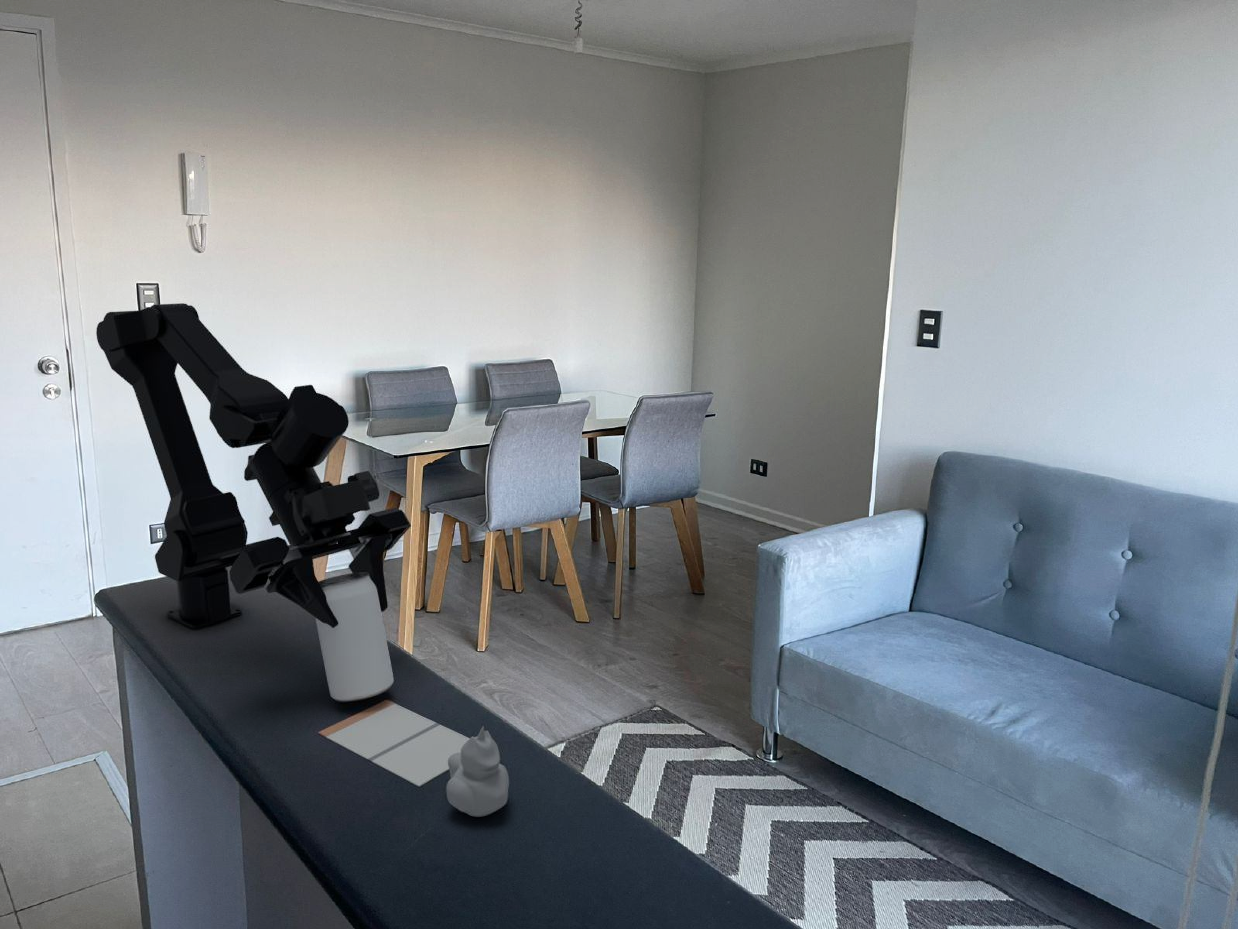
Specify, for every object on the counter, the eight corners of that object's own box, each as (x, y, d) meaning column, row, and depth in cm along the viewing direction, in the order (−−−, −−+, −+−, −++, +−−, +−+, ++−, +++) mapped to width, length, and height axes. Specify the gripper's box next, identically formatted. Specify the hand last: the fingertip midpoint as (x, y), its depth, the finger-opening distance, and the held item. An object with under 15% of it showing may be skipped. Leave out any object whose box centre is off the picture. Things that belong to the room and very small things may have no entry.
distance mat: (318, 733, 92) (318, 732, 92) (387, 701, 99) (387, 699, 99) (419, 786, 84) (419, 785, 84) (486, 747, 91) (486, 746, 91)
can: (360, 704, 94) (338, 585, 94) (317, 701, 98) (295, 587, 97) (407, 682, 100) (386, 569, 99) (365, 680, 103) (344, 572, 102)
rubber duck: (475, 837, 78) (475, 749, 76) (426, 802, 82) (425, 718, 80) (525, 809, 82) (526, 725, 80) (476, 778, 86) (476, 697, 84)
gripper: (237, 464, 89) (310, 607, 85) (398, 435, 103) (467, 557, 100) (200, 525, 96) (266, 660, 92) (356, 490, 110) (419, 606, 106)
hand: (360, 618), depth 97 cm, fingers closed on can, 6 cm apart
